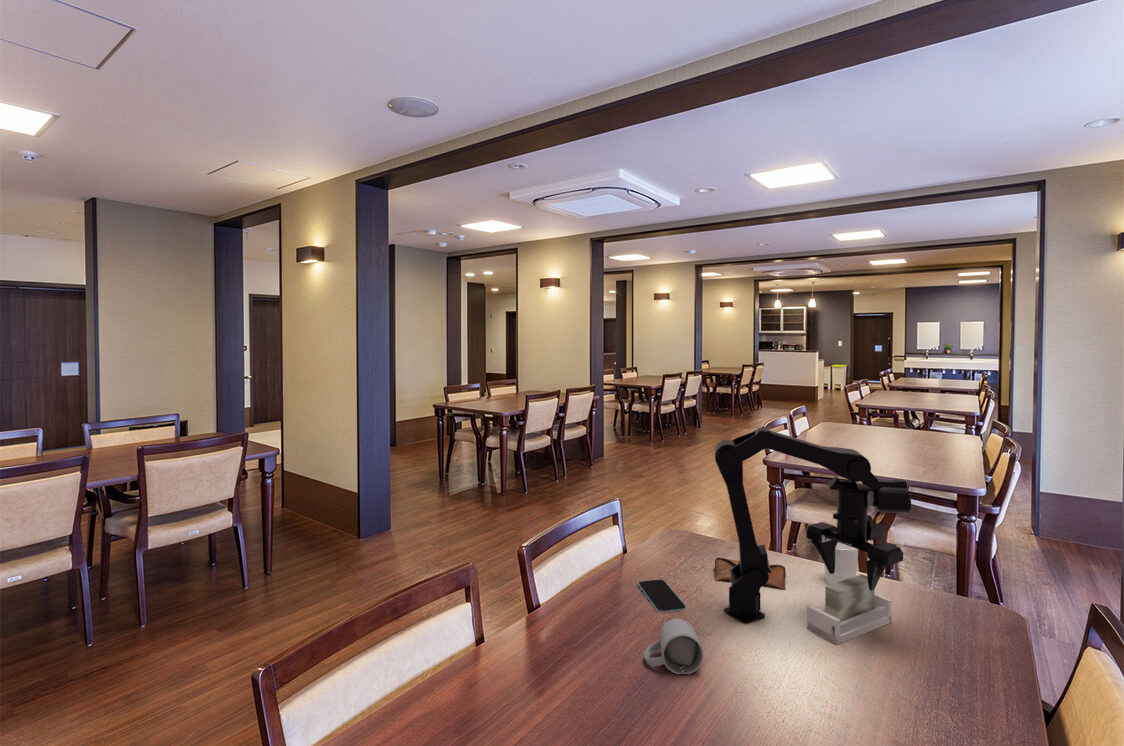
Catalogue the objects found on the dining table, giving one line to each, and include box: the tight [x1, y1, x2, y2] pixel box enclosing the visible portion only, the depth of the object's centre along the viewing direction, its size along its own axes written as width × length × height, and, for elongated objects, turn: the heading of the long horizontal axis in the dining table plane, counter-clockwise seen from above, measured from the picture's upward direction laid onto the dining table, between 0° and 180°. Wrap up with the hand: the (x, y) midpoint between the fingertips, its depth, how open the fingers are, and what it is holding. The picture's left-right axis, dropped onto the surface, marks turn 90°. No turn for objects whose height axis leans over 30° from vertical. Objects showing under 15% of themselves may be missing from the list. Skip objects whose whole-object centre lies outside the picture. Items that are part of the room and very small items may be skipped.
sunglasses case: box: [713, 557, 787, 591], centre depth 142 cm, size 18×7×7 cm, turn 71°
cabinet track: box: [806, 592, 893, 646], centre depth 118 cm, size 18×7×5 cm, turn 117°
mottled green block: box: [824, 574, 875, 622], centre depth 117 cm, size 12×3×8 cm, turn 117°
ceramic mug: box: [643, 618, 704, 675], centre depth 105 cm, size 11×8×8 cm
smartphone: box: [637, 578, 687, 613], centre depth 132 cm, size 7×1×15 cm
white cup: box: [823, 542, 859, 585], centre depth 138 cm, size 8×8×10 cm
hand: (851, 581), depth 117 cm, fingers open, 9 cm apart
